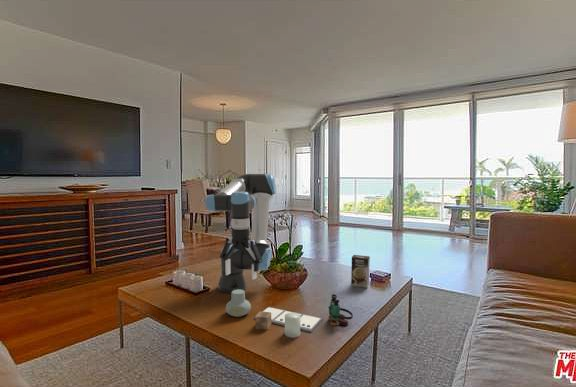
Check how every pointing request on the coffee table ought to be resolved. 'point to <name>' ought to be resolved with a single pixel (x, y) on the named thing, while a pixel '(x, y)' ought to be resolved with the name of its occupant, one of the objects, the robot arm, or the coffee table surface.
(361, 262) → the coffee box
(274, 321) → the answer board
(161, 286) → the coffee table surface
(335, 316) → the binoculars
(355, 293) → the coffee table surface
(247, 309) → the air freshener
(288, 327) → the pale green capsule
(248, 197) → the robot arm
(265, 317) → the walnut block
